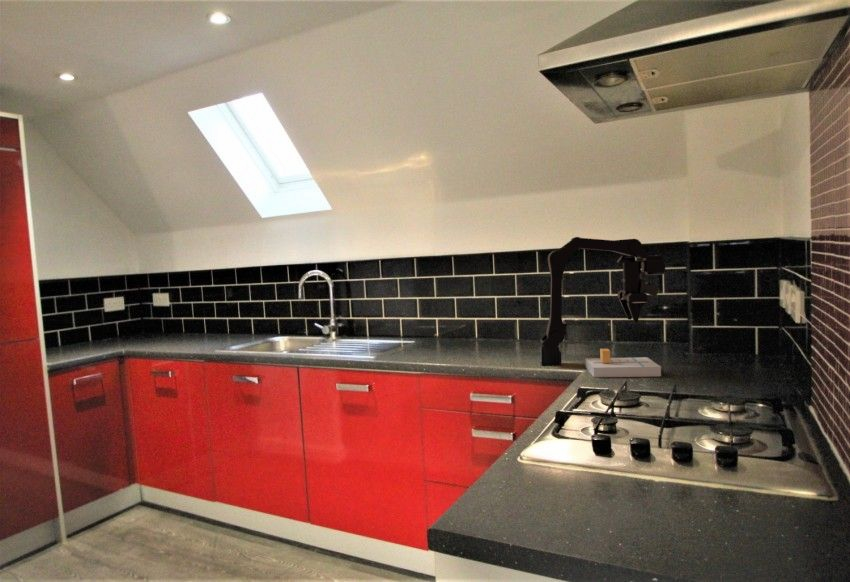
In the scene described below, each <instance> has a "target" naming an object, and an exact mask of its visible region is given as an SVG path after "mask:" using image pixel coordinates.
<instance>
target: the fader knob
mask: <svg viewBox="0 0 850 582" xmlns="http://www.w3.org/2000/svg"><path fill="white" fill-rule="evenodd" d="M599 355H600V356H599V357H600V361H601V362H602V363H610V358H611V350H610V349H609V348H599Z"/></svg>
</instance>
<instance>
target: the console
mask: <svg viewBox="0 0 850 582" xmlns="http://www.w3.org/2000/svg"><path fill="white" fill-rule="evenodd" d="M584 359H585V369H587V371H588V372H589V374H590V375H591V376H592V377H593V378H629V377H631V378H633V377H634V378H638V377H648V378H649V377H662V366H661V365H659V364H658V363H656V362H654V361H653V360H652V359H650V358H649V357H647V356H643V357H610V363H602V362H601V361H600V358H599V357H597V358H596V357H595V358H593V357H591V358H588V357H587V358H584Z"/></svg>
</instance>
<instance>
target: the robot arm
mask: <svg viewBox="0 0 850 582" xmlns="http://www.w3.org/2000/svg"><path fill="white" fill-rule="evenodd" d="M578 249H583V250H597V251H606V252H607V251H608V252H609V251H610V252H614V253H618V254H620V255H621V256H620V257H619V258H618V260H616V263H620V264H621V263H622V273H623V274H622V276H623V278H621V282H623V289H622V290H621V289H620V290H619V291H618V292H617V298H618V301H619V303H620V304H621V307H622V309H623V311H624V313H625V314H624V315H626V317H627V320H632V321H633V322H634V323H639V319H640V315H641V311H642V308H643V307H644V306H645V305H647V304H648V302H649V295H650V296H653V297H657V296H658V293H659V291H660V287H658V286H654V284H653V283H652V282H649V281H646V282H644V278H642V273H644V275H646V276H656V275H658V276H659V275H665V273H666V264H665V260H664V255H663V254H656V255H649V254H648V253H647V252H646V251H645V250H644V249H643V245H642V242H641V241H640V240H639V239H637V238H628V239H616V240H613V239H612V240H611V239H599V238H588V237H587V238H586V237H581V236H574V237H572V238H571V239H570V240H569V241H568V242H567V243H565V244H564V245H562V246H561V247H560V248H559V249H558V250H552V251H551V252H550V253H549V254H548V255H547V263H548V269H549V273H550V308H549V309H550V310H549V318H548V322H547V326H546V332H545V333H546V334H544V336H542V337H541V338H540V343H541V346H540V361H539V362H540V365H541V366H542V367H553V366H552V365H560V366H561V364H562V351H561V350H560V344H562V343H563V341H564V340H565V336H567V335H568V334H567V326H568V323H567V322H566V321H563V318H562V316H563V315H562V314H563V313H562V307H563V306H562V305H563V304H562V303H563V301H562V300H563V276H564V272H565V268H566V263H567V259H568V258H570V257H571V256H572V255H573V254H574V253H575V252H577V250H578ZM625 256H628V257H625ZM629 256H630V257H629ZM635 258H636V259H635ZM637 259H639V260H637ZM641 259H642V260H641Z"/></svg>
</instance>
